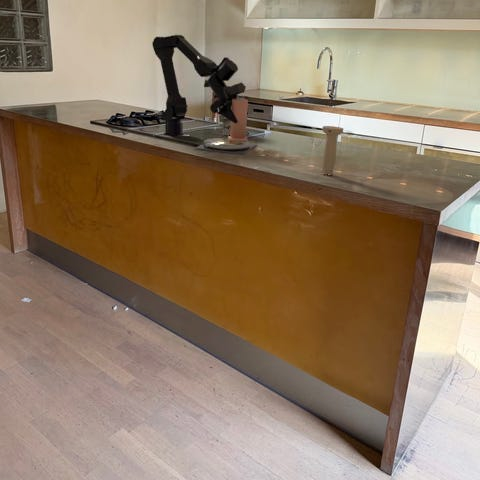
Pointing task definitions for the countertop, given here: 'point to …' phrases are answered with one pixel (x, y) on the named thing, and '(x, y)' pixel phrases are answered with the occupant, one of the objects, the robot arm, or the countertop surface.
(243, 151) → the base
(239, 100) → the pink tall cylinder
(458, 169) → the countertop surface
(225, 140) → the turntable disk
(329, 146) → the handle
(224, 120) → the coffee box
